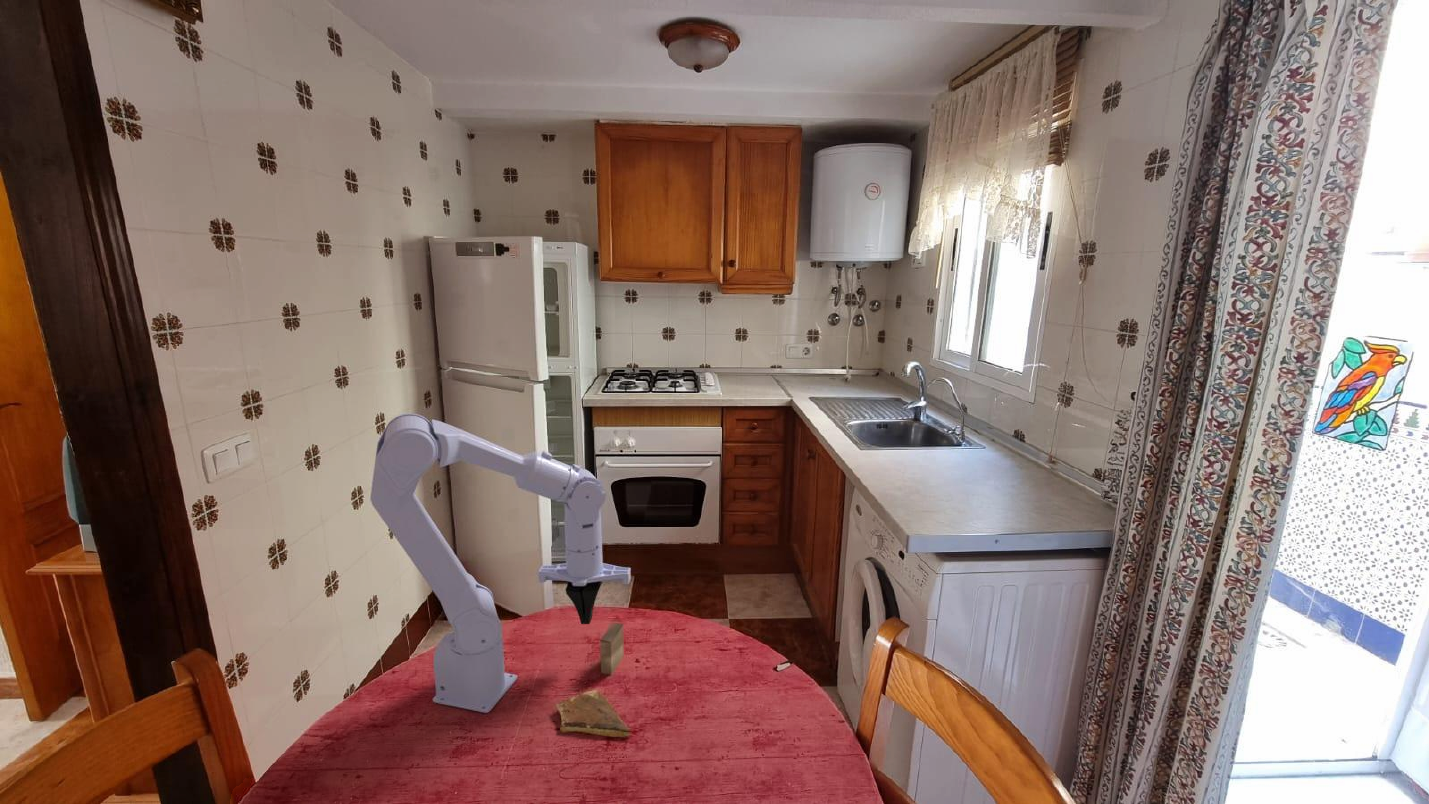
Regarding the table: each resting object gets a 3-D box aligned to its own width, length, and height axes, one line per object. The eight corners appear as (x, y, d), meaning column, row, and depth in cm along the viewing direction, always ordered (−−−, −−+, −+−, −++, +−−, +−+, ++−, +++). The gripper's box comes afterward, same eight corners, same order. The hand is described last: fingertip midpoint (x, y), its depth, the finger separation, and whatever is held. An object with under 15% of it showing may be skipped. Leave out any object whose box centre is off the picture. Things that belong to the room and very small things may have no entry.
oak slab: (601, 673, 92) (600, 639, 91) (613, 653, 97) (612, 622, 96) (611, 674, 92) (610, 641, 90) (623, 655, 96) (622, 623, 95)
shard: (631, 741, 79) (631, 730, 79) (579, 767, 75) (579, 755, 74) (598, 695, 88) (598, 685, 87) (549, 716, 83) (549, 705, 83)
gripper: (530, 554, 87) (534, 634, 90) (624, 557, 87) (626, 636, 90) (544, 534, 94) (548, 608, 97) (632, 536, 94) (633, 611, 97)
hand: (586, 620), depth 94 cm, fingers closed
